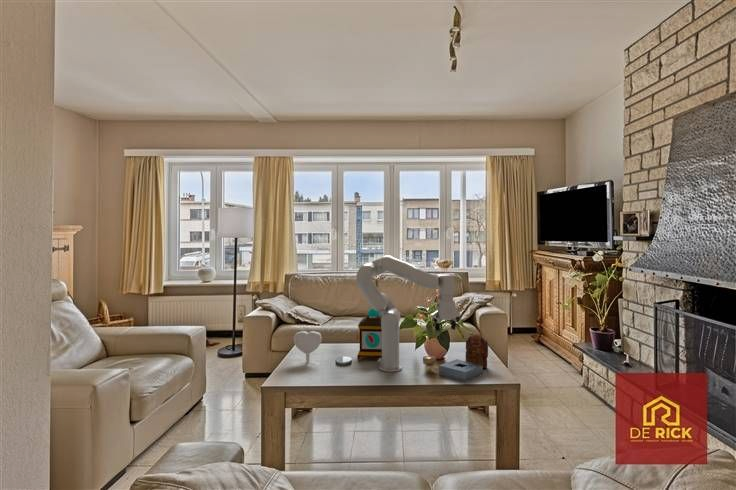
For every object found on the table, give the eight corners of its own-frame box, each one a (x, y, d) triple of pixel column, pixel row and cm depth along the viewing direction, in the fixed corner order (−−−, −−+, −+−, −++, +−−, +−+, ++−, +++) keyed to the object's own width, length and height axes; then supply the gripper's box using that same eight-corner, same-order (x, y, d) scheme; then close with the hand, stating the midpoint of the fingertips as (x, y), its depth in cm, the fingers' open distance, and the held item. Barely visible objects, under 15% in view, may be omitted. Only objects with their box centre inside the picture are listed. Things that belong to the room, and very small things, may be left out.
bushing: (420, 371, 225) (420, 357, 224) (428, 368, 229) (428, 355, 229) (430, 374, 220) (430, 360, 220) (438, 371, 224) (438, 357, 224)
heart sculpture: (293, 364, 238) (293, 332, 238) (295, 361, 243) (295, 330, 243) (320, 364, 237) (320, 332, 237) (322, 362, 242) (322, 330, 242)
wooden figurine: (465, 368, 229) (465, 335, 229) (465, 365, 235) (465, 333, 235) (488, 370, 227) (488, 336, 227) (487, 366, 233) (487, 334, 233)
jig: (439, 374, 219) (439, 365, 219) (456, 368, 230) (456, 359, 230) (465, 382, 207) (465, 372, 207) (482, 375, 218) (482, 365, 218)
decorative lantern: (391, 353, 261) (391, 305, 260) (389, 362, 241) (389, 310, 241) (359, 352, 263) (358, 304, 262) (354, 361, 243) (354, 309, 243)
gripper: (435, 299, 218) (434, 332, 218) (463, 298, 224) (463, 330, 224) (428, 297, 225) (427, 329, 225) (456, 296, 231) (455, 327, 231)
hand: (445, 329), depth 225 cm, fingers open, 9 cm apart
